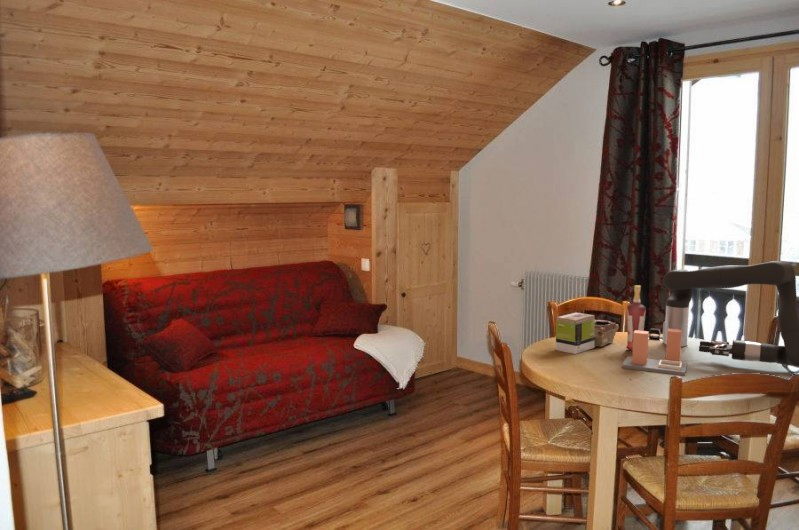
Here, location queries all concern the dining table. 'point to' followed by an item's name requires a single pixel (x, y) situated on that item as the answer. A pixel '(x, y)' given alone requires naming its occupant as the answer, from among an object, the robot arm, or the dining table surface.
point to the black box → (655, 331)
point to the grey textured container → (604, 332)
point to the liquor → (635, 317)
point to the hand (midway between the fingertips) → (699, 346)
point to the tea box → (575, 332)
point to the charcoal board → (642, 363)
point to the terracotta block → (673, 345)
